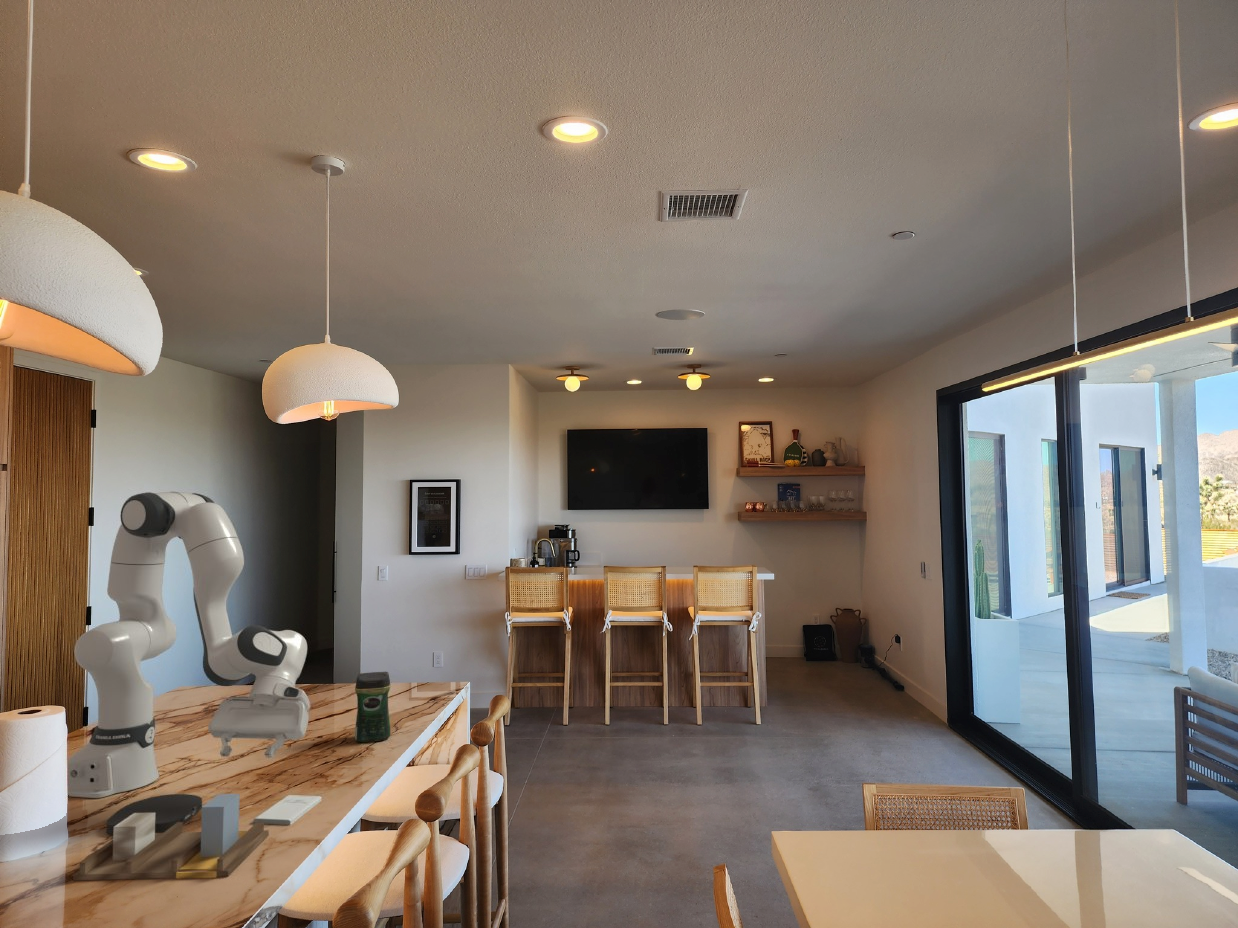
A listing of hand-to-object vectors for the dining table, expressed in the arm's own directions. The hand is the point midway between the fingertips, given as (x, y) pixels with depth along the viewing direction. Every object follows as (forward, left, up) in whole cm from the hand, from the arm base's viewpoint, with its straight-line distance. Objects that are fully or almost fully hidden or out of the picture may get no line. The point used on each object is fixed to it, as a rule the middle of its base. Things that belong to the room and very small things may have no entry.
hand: (246, 755), depth 154 cm
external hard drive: (+8, +2, -13) cm, 16 cm away
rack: (-4, -17, -13) cm, 22 cm away
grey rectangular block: (+4, -17, -11) cm, 21 cm away
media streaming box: (-18, 0, -13) cm, 23 cm away
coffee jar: (+12, +51, -13) cm, 54 cm away
